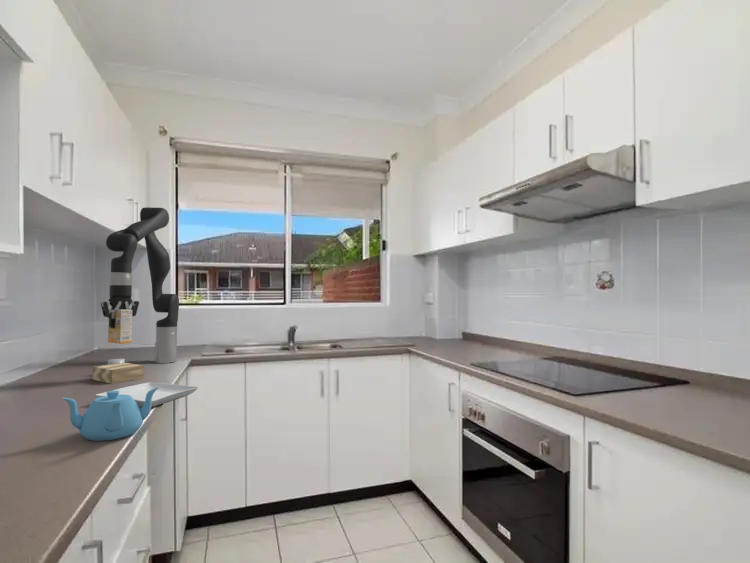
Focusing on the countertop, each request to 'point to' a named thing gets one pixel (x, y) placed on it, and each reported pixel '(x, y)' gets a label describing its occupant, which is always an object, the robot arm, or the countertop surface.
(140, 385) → the salad plate
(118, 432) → the teapot
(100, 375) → the plate
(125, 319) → the supplement box
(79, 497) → the countertop surface
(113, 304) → the robot arm
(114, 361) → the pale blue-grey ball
